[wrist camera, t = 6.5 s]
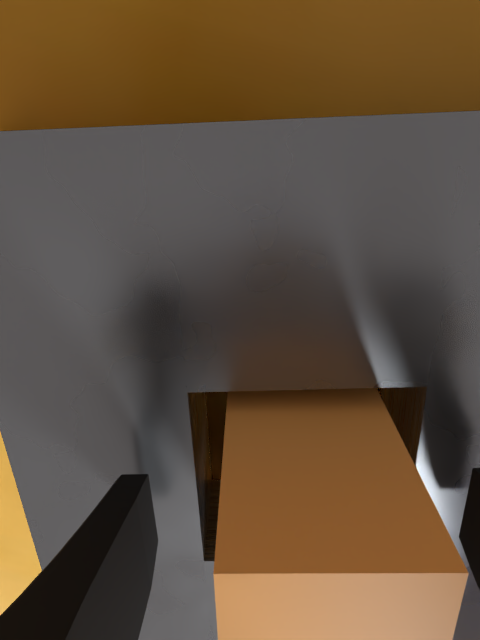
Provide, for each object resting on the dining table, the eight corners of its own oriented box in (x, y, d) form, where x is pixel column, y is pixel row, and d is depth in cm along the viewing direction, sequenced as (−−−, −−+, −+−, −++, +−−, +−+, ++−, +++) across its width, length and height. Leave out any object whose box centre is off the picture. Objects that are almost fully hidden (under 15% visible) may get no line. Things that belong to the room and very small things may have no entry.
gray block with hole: (483, 590, 16) (530, 683, 14) (104, 594, 17) (76, 685, 14) (603, 108, 10) (735, 99, 7) (-1, 133, 11) (-89, 135, 8)
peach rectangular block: (348, 452, 14) (432, 720, 8) (234, 453, 14) (223, 719, 8) (357, 349, 13) (468, 572, 6) (230, 351, 13) (213, 573, 6)
